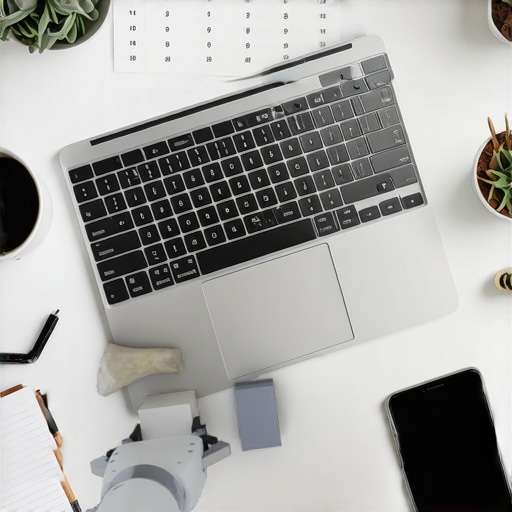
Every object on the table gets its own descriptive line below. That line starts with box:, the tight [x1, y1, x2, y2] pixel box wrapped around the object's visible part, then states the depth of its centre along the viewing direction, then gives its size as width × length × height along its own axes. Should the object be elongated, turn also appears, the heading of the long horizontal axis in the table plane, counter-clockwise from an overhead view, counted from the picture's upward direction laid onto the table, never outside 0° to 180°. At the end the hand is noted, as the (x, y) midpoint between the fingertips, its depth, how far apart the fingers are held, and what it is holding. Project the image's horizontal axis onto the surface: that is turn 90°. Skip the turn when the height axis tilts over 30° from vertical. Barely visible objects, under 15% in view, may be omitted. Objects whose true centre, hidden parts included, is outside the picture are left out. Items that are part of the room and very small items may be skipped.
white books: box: [141, 389, 200, 417], centre depth 72 cm, size 8×6×4 cm
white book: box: [137, 399, 194, 441], centre depth 69 cm, size 8×6×2 cm
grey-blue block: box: [233, 378, 282, 452], centre depth 72 cm, size 8×5×3 cm, turn 8°
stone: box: [96, 343, 184, 398], centre depth 71 cm, size 11×6×5 cm, turn 108°
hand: (170, 431), depth 70 cm, fingers open, 6 cm apart
